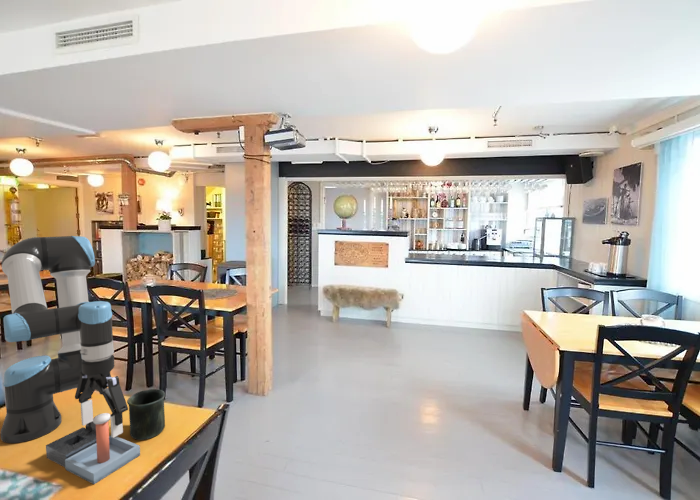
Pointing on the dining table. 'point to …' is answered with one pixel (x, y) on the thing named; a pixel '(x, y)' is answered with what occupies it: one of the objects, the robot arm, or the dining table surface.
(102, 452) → the pin
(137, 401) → the mug
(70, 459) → the tray
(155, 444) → the dining table surface
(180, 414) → the dining table surface
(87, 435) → the block
